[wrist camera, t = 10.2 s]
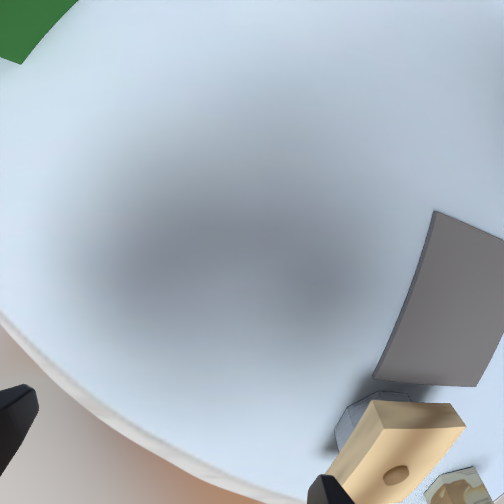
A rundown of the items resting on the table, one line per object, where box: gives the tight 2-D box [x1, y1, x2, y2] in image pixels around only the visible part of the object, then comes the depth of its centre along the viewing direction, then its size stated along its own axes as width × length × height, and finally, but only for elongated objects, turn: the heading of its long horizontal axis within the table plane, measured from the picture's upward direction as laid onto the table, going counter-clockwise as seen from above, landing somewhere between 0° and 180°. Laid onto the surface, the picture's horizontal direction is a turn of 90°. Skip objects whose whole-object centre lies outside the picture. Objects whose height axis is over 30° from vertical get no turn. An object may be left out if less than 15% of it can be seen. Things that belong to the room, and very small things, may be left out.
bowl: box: [334, 391, 411, 453], centre depth 19 cm, size 6×6×3 cm
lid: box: [325, 400, 466, 504], centre depth 16 cm, size 7×9×3 cm
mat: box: [373, 211, 504, 387], centre depth 18 cm, size 11×12×1 cm
